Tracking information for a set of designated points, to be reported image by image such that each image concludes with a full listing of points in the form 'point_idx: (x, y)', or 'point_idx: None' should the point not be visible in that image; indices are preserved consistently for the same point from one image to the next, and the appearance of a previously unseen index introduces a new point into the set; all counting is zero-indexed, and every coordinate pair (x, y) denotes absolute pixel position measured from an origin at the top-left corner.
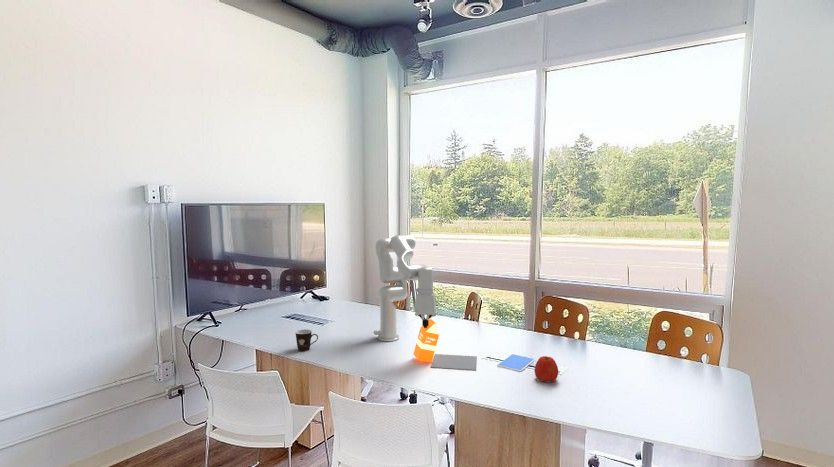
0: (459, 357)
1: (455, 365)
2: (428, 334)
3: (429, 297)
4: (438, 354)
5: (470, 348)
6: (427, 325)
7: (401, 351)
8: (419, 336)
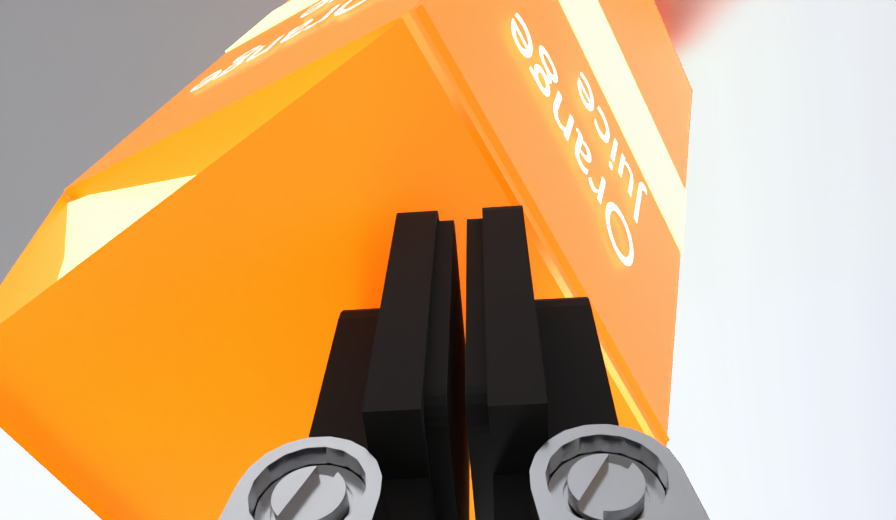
0: (29, 215)
1: None
2: (326, 41)
3: None
4: None
5: (47, 513)
6: (372, 308)
7: (875, 277)
8: (641, 220)
